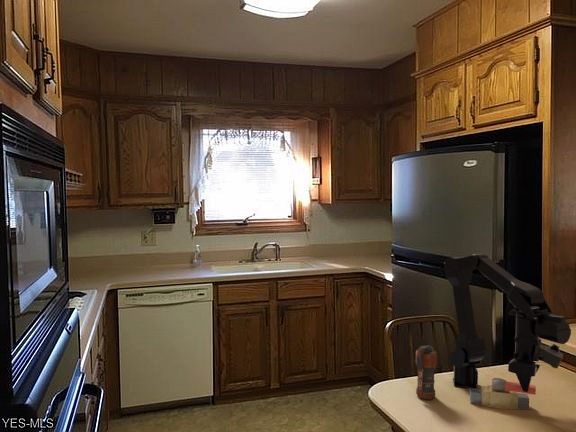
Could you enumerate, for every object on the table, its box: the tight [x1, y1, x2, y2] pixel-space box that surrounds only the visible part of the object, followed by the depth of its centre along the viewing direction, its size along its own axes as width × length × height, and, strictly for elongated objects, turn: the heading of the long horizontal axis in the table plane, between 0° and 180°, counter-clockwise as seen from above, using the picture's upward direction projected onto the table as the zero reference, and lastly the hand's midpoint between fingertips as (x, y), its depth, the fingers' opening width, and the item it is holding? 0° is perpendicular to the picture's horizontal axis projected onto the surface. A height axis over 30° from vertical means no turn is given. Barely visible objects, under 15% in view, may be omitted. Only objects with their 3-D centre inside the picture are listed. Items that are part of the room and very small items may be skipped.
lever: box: [491, 377, 537, 395], centre depth 133 cm, size 11×4×2 cm, turn 65°
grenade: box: [415, 345, 438, 401], centre depth 139 cm, size 6×8×15 cm
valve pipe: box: [469, 384, 530, 411], centre depth 135 cm, size 15×5×4 cm, turn 74°
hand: (525, 391), depth 130 cm, fingers closed
